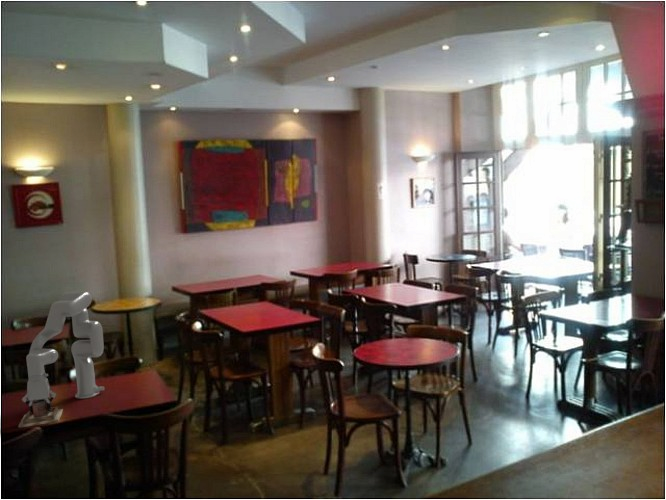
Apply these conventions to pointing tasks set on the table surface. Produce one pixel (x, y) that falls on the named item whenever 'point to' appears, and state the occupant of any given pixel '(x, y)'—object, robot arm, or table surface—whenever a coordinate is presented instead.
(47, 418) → the square beige tray
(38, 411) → the lighter
